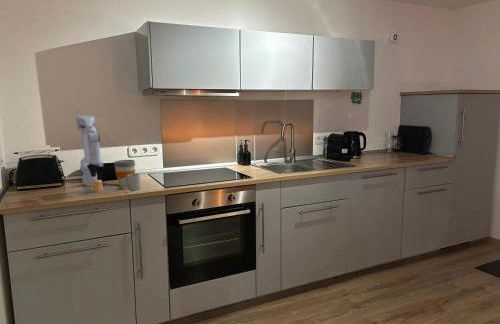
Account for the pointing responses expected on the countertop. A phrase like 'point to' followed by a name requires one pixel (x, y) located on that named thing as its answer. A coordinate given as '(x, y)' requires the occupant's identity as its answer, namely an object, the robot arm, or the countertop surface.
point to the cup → (132, 182)
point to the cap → (97, 186)
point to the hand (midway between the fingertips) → (96, 177)
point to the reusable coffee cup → (124, 170)
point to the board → (90, 190)
